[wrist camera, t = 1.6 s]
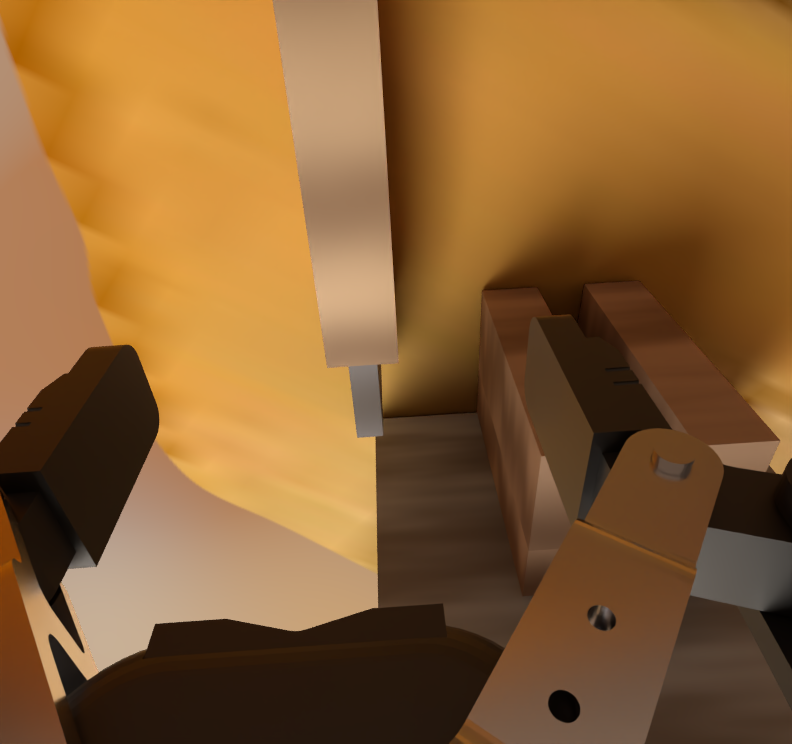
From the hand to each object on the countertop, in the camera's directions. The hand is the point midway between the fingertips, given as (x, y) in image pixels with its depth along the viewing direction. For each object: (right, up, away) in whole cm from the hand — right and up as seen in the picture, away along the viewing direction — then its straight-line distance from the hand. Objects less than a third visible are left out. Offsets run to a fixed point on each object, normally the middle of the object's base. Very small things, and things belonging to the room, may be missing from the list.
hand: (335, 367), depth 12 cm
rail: (-1, +8, +14) cm, 16 cm away
